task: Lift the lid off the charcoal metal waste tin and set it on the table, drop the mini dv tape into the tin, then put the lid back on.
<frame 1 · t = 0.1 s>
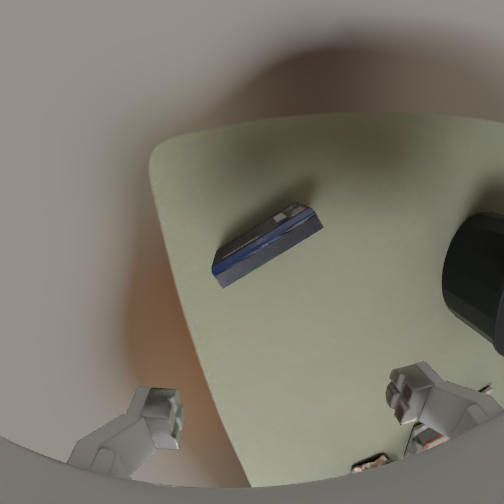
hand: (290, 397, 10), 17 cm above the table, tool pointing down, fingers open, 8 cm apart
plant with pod: (369, 469, 36), on the table
mini dv tape: (260, 233, 26), on the table
waste tin: (478, 266, 28), on the table
packaged product: (447, 422, 35), on the table
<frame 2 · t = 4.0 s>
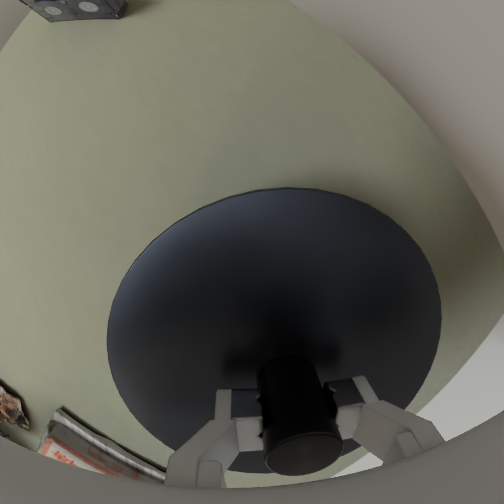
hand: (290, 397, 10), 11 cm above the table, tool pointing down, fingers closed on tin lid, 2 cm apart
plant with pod: (9, 405, 23), on the table
mini dv tape: (86, 13, 14), on the table
packaged product: (112, 460, 25), on the table
tin lid: (284, 371, 11), point 10 cm above the table, touching gripper, waste tin
when the fingers open (2 cm above the table, at t = 12.3 s): tin lid stays where it is, point 1 cm above the table.
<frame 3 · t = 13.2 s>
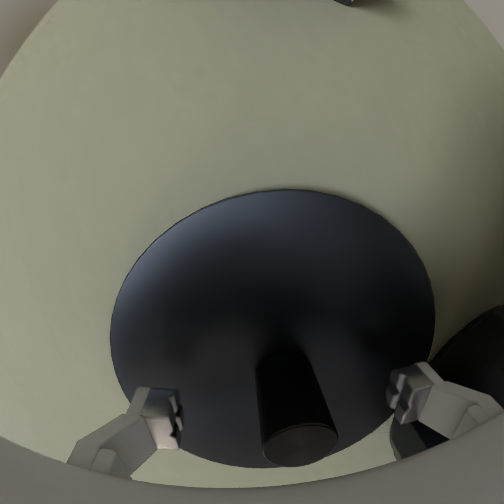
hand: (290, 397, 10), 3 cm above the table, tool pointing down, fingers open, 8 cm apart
waste tin: (468, 391, 14), on the table
tin lid: (282, 366, 12), point 1 cm above the table
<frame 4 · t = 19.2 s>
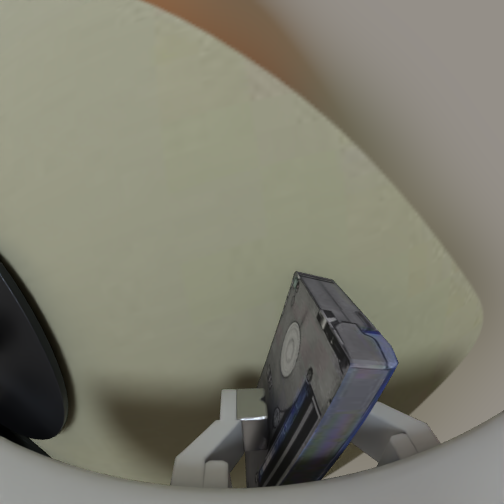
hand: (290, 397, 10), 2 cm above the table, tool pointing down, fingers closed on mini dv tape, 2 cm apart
mini dv tape: (282, 359, 12), on the table, touching gripper
waste tin: (18, 456, 14), on the table
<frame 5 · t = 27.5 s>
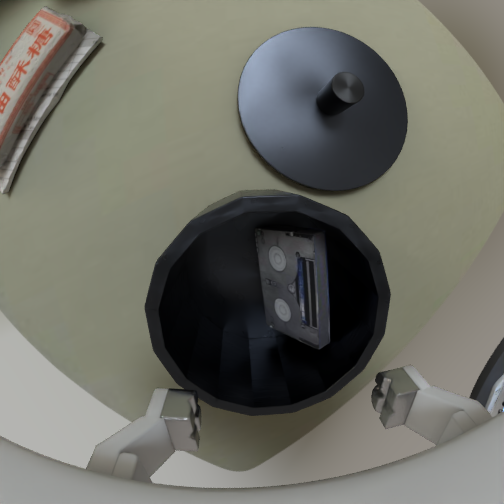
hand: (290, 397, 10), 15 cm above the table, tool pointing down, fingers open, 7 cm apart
mini dv tape: (266, 276, 24), point 1 cm above the table, touching waste tin
waste tin: (260, 272, 24), on the table
packaged product: (27, 97, 19), on the table
tin lid: (328, 103, 21), point 1 cm above the table
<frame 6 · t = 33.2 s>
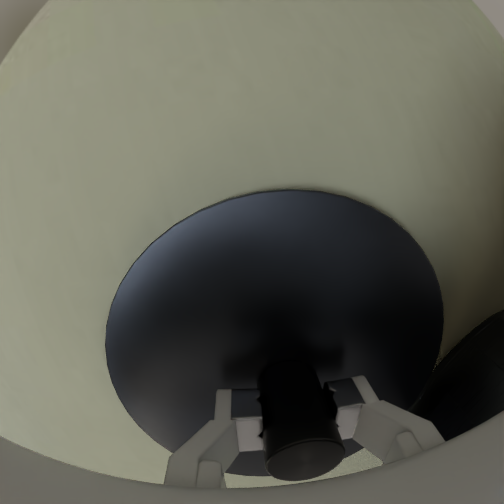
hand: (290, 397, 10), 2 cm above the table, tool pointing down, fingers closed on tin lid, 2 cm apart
waste tin: (473, 395, 14), on the table
tin lid: (285, 375, 11), point 1 cm above the table, touching gripper
when the fingers open (11 cm above the table, at t = 40.7 s): tin lid stays where it is, resting on waste tin.
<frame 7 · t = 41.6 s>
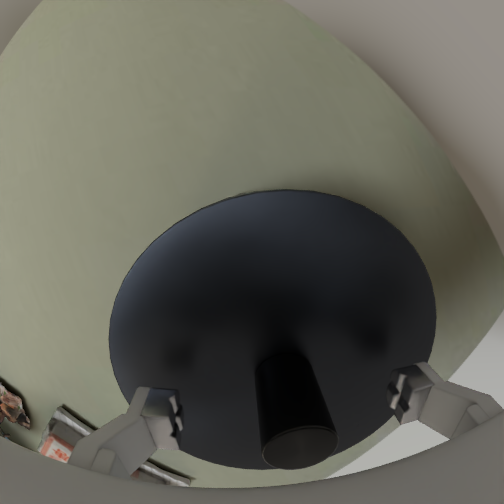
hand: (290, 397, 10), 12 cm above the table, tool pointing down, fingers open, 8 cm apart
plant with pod: (10, 404, 24), on the table
packaged product: (112, 458, 26), on the table
tin lid: (282, 368, 12), point 9 cm above the table, touching waste tin
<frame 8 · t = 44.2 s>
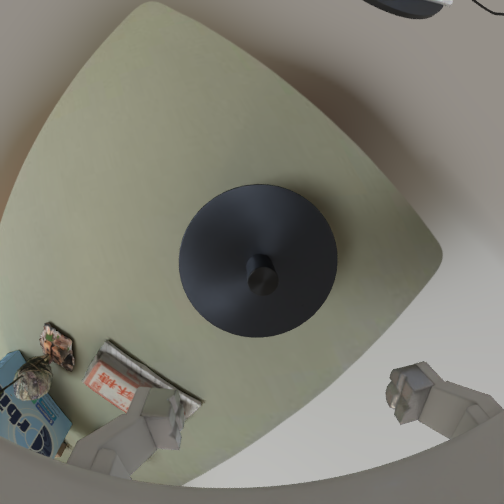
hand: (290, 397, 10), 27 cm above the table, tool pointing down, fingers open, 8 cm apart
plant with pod: (57, 350, 39), on the table
gum box: (40, 390, 41), on the table
packaged product: (141, 387, 41), on the table
tin lid: (259, 265, 27), point 9 cm above the table, touching waste tin
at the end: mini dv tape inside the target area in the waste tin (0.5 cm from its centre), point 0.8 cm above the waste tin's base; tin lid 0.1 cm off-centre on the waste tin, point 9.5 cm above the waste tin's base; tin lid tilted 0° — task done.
